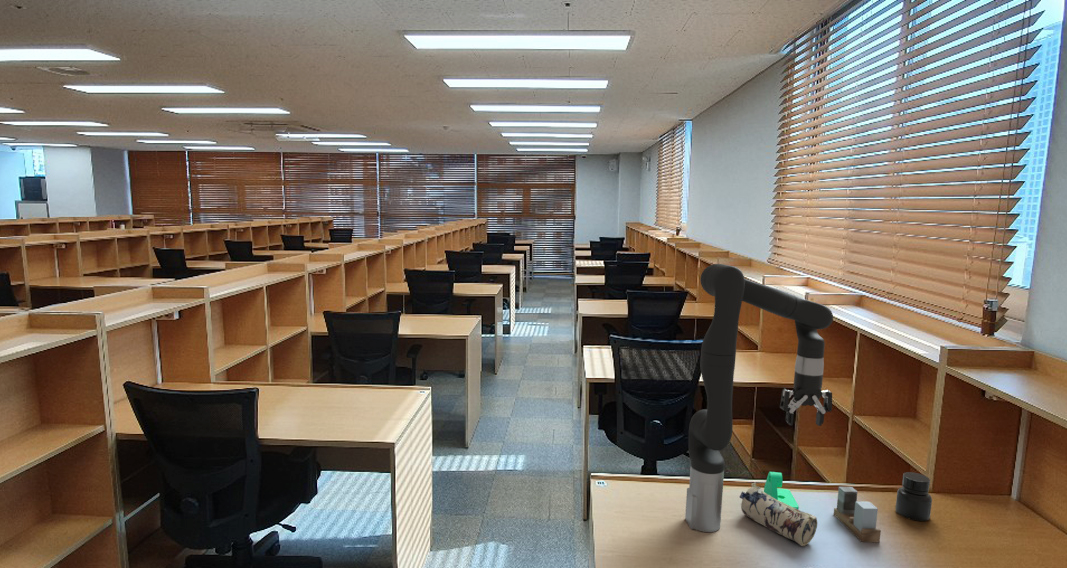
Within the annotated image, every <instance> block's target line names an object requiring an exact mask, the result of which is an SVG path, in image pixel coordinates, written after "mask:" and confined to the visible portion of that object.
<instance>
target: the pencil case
mask: <svg viewBox="0 0 1067 568" xmlns="http://www.w3.org/2000/svg"><path fill="white" fill-rule="evenodd" d="M750 484H751V488H749V489H747V491H746V492H744V491H741V493H740V495H739V498H740V499H741V503H740V510H741V512H742V514H744V515H745V516H746V517H748V518H749V519H751V520H752V521H755V522H756V523H757V524H760V525H762V526H764V527H766V528H767V529H769V530H771V531H773V532H774V533H777V534H778V535H780V536H783V537H785V538H786V539H789V540H791V541H794V542H795V543H797V544H798V545H799V546H801V547H805V546H806V545H808V544H809V543H810V542H811V541H812V540H813V539H814V537H815V534H816V532H817V530H818V529H817V528H818V517H817V516H815V515H813V514H811V513H809V512H804V511H801V510H799V509H795V508H793V507H791V506H789V505H787V504H785V503H783V502H781V501H778V500H776V499H775V498H773V497H771V496H769V495H768V494H766V493H765V492H764V490H762V488H761V487H760V486H757V482H753V483H750Z"/></svg>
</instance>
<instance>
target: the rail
mask: <svg viewBox="0 0 1067 568" xmlns="http://www.w3.org/2000/svg"><path fill="white" fill-rule="evenodd" d="M837 493H838V494H837V501H836V502H837V503H836V507H834V508H833V515H834V516H835V517H836V519H838V520H839V521H840V522H841V523H842V524H843V525H844V526H845V527H846V528H847V529H848V530H849V531H850V532H851V534H853V535H854V536H855V537H856V538H857V539H858V540H859V541H860V542H862V543H880V540H881V534H882V533H881V532H882V531H881V529H880V528H876V529H861V531H859V530H858V529H857V528H856V527H855V526H854V525H853V522H854V512H855V502H856V501H858V500H857V499H858V490H857V489H855V488H854V487H853V486H838V492H837Z"/></svg>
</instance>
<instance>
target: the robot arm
mask: <svg viewBox="0 0 1067 568" xmlns="http://www.w3.org/2000/svg"><path fill="white" fill-rule="evenodd" d="M699 279H700V285H701V288H702V289H703V291H705V292H706V293H707V294H708V295H710V296H712V297H714V309H713V310H714V311H713V317H712V321H711V324H710V325H709V328H708V329H707V331H706V333H705V335H704V337H703V339H702V343H701V349H700V360H699V361H700V363H699V365H700V368H699V369H700V375H701V378H702V382H703V385H704V389H705V393H706V397H707V405H706V407H707V408H705V409H699V410H698V411H696V412H695V413H694V414H693V415H692V417H691V419H690V422H689V428H688V454H689V455H688V456H689V459H690V471H689V487H687V488H686V497H685V498H686V500H685V512H684V513H685V514H684V515H685V516H684V518H685V521H686V523H687V525H688V526H689V528H690V530H696V531H700V532H703V533H705V532H706V533H713V532H717V531H719V530H720V529H721V521H722V507H723V491H724V477H725V476H724V475H725V464H726V463H725V458H724V456H723V455H722V454H721V450H724V449H725V448H727V446H728V445H729V444H730V442H731V440H732V436H733V427H734V426H733V392H734V377H735V369H736V368H735V367H736V359H737V358H736V355H737V340H738V330H739V320H740V313H741V307H742V302H744V303H747V304H749V305H751V306H753V307H756V308H758V309H761V310H763V311H765V312H768V313H771V314H773V315H775V316H778V317H782V318H784V319H788V320H793V321H794V324H795V331H796V336H797V341H798V342H797V350H796V358H795V364H794V376H793V389H792V390H789V389H786V388H783V389H782V390H781V397H780V403H779V404H780V405H779V408H780V409H781V410H782V411H784V412H786V413H785V422H786V423H787V424H788V425H789V426H794V416H795V414H794V412H795V411H796V410H797V409H799V408H800V407H801V406H803V407H804V406H808V407H809V406H810V407H813V406H814V407H815V408H816V410H817V411H816V412H815V414H816V416H815V424H816V426H818V427H821V426H822V425H823V424H824V422H825V414H826V413H827V412H829V413H831V412H832V410H833V392H831V391H830V390H828V389H825V390H822V388H823V381H824V380H823V378H824V367H825V363H824V360H825V359H824V357H825V347H826V345H825V344H826V343H825V339H824V338H823V337H822V336H820V334H819V333H818V330H824V329H827V328H829V327H830V326H831V325H832V323H833V320H834V315H833V312H832V310H831V309H830V308H829V307H828V306H826V305H824V304H821V303H818V302H814V301H811V300H809V299H804V298H802V297H800V296H798V295H795V294H792V293H789V292H788V291H784V290H782V289H779V288H777V287H773V286H769V285H765V284H762V283H759V282H754V281H752V280H749V279H746V278H745V275H744V274H743V271H742V270H741V269H740V268H738V267H736V266H733V265H729V264H723V263H713V264H711V265H708V266H707V267H706V268H704V269H703V271H702V272H701V274H700V278H699ZM792 396H793V397H792ZM791 397H792V399H790V398H791ZM821 397H822V398H823V405H822V403H821V401H820V399H821Z"/></svg>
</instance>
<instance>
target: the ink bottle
mask: <svg viewBox="0 0 1067 568" xmlns="http://www.w3.org/2000/svg"><path fill="white" fill-rule="evenodd" d="M901 483H902V485H901V486H902V487H899V488H898V489H897V492H896V499H895V512H896V513H898V515H900V516H902V517H904V518H906V519H909V520H912V521H917V522H925V521H929V520H930V518H931V514H932V504H933V497H932V496H931V494H929V491H930V490H929V489H930V485H931V484H930V483H931V479H930V477H928V476H926V475H924V474H922V473H917V472H914V471H911V472H910V471H907V472H904V473H903V475H902V481H901Z"/></svg>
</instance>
